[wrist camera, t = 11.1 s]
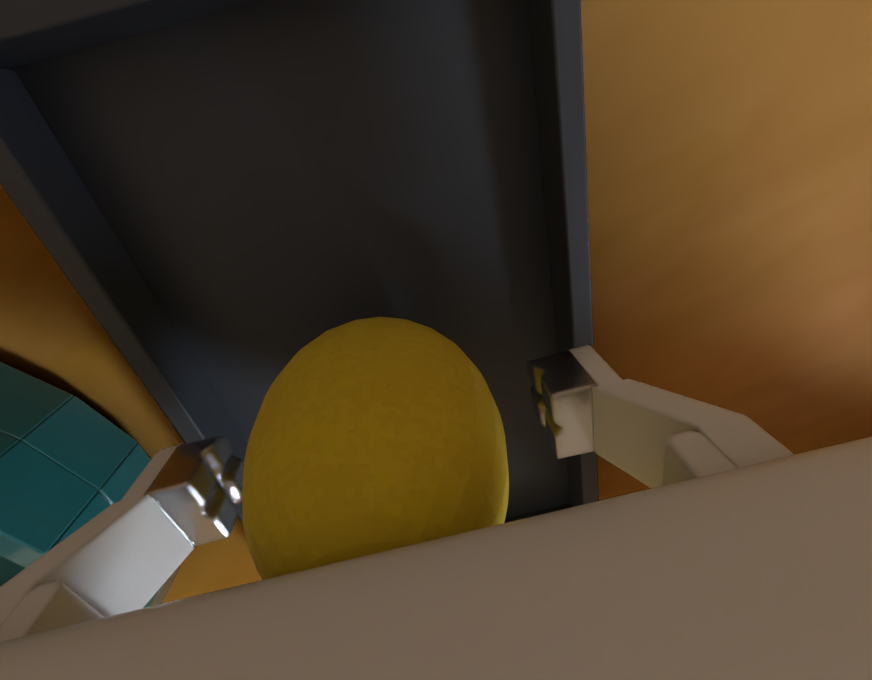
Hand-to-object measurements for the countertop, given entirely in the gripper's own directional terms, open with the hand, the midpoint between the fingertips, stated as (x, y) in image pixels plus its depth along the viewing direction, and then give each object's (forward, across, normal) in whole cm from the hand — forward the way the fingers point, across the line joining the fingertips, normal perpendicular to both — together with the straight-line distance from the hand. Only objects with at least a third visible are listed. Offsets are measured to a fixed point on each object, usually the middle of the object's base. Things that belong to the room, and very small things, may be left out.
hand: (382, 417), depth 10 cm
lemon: (+3, 0, 0) cm, 3 cm away
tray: (+4, 0, 0) cm, 4 cm away
